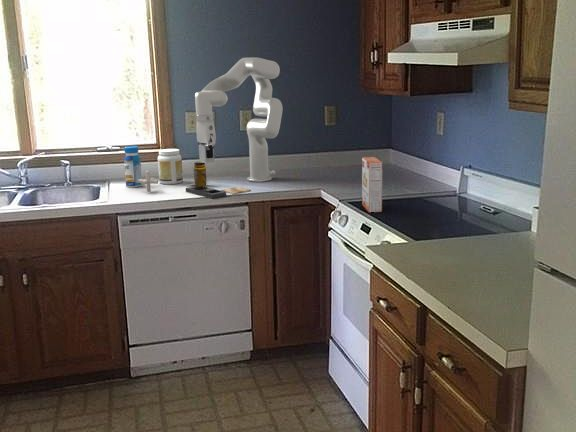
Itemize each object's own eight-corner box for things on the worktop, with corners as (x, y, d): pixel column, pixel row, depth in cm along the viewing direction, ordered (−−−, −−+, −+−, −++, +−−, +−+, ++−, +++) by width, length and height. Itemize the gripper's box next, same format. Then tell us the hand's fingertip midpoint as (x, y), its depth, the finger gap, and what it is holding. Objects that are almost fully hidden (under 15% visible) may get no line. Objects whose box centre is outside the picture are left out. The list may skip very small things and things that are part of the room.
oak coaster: (237, 188, 320) (237, 186, 320) (250, 190, 313) (250, 189, 313) (221, 191, 314) (221, 189, 314) (233, 194, 307) (233, 192, 307)
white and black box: (208, 160, 313) (207, 143, 310) (214, 161, 309) (213, 144, 307) (199, 161, 309) (198, 145, 307) (205, 163, 306) (204, 146, 304)
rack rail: (199, 189, 319) (199, 185, 318) (226, 196, 303) (226, 191, 302) (185, 191, 314) (185, 187, 313) (212, 198, 298) (212, 194, 297)
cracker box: (361, 205, 279) (361, 156, 274) (375, 204, 280) (375, 156, 275) (367, 213, 266) (368, 162, 261) (382, 212, 266) (383, 161, 261)
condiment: (209, 186, 327) (208, 162, 324) (194, 188, 323) (193, 164, 320) (203, 183, 333) (202, 160, 330) (188, 185, 329) (186, 162, 326)
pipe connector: (163, 190, 319) (161, 169, 317) (152, 194, 310) (151, 173, 308) (145, 189, 322) (143, 169, 320) (134, 193, 313) (132, 172, 311)
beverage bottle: (143, 186, 328) (140, 147, 323) (126, 188, 326) (123, 148, 321) (141, 183, 336) (139, 145, 331) (125, 185, 333) (121, 146, 329)
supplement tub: (179, 179, 346) (177, 147, 342) (186, 183, 335) (184, 150, 331) (156, 181, 341) (154, 149, 337) (162, 185, 330) (160, 152, 326)
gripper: (221, 119, 300) (223, 158, 305) (201, 116, 313) (203, 154, 317) (207, 120, 295) (210, 160, 300) (187, 118, 308) (190, 156, 313)
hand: (206, 157), depth 309 cm, fingers closed on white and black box, 5 cm apart
